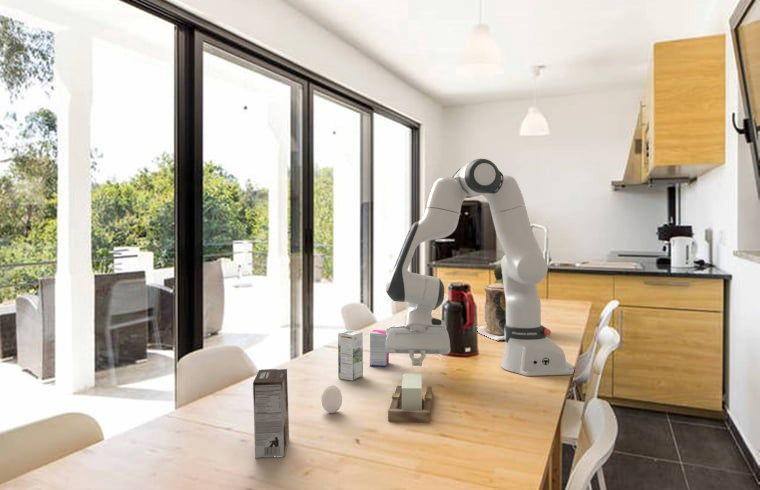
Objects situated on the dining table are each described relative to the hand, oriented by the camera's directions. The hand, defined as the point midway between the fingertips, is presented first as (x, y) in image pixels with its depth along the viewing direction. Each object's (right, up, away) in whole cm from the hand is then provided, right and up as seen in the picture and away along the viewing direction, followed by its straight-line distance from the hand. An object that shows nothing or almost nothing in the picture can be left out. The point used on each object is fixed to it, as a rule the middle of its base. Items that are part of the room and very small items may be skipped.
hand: (416, 364), depth 147 cm
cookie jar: (+44, -2, +64) cm, 78 cm away
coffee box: (-34, -8, -42) cm, 55 cm away
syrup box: (-20, -6, +6) cm, 22 cm away
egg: (-24, -7, -23) cm, 33 cm away
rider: (-3, -6, -19) cm, 21 cm away
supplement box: (-11, -5, +20) cm, 23 cm away
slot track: (-3, -6, -19) cm, 20 cm away
